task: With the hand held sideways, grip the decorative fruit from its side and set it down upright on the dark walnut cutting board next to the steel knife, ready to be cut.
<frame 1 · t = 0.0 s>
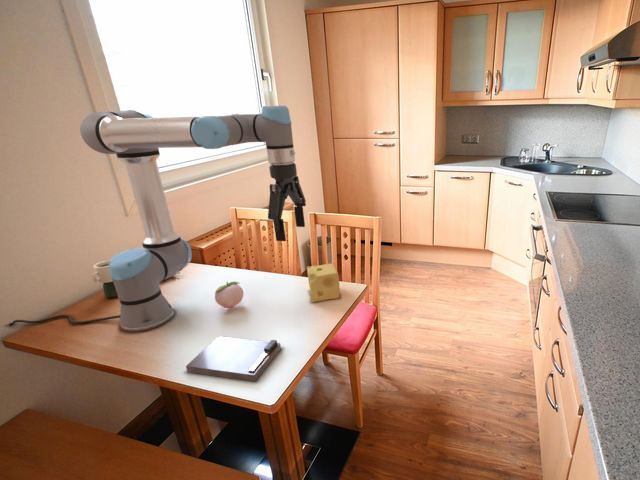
hand: (291, 233, 117), 28 cm above the table, tool pointing down, fingers open, 13 cm apart
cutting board: (236, 360, 104), on the table
character mug: (115, 295, 144), on the table
packaged food: (164, 277, 158), on the table
cheese: (324, 294, 139), on the table
decorative fruit: (233, 308, 132), on the table
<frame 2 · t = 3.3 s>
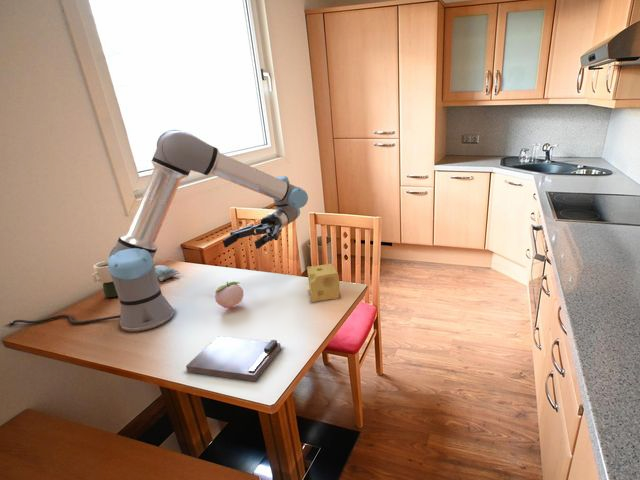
hand: (239, 244, 133), 20 cm above the table, tool horizontal, fingers open, 13 cm apart
nothing on the table moved.
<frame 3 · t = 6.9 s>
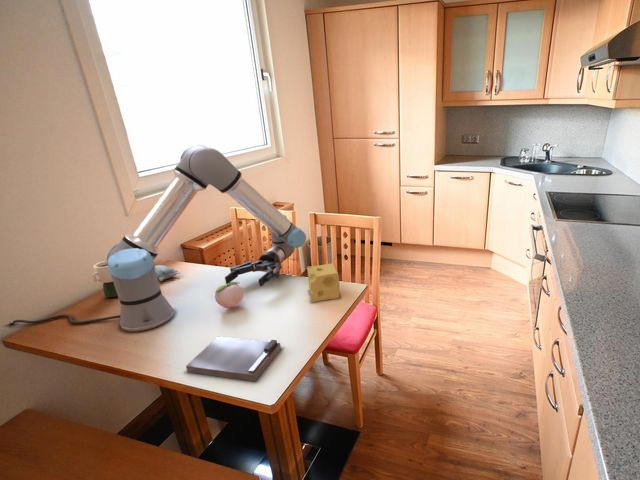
hand: (242, 281, 137), 6 cm above the table, tool horizontal, fingers open, 13 cm apart
nothing on the table moved.
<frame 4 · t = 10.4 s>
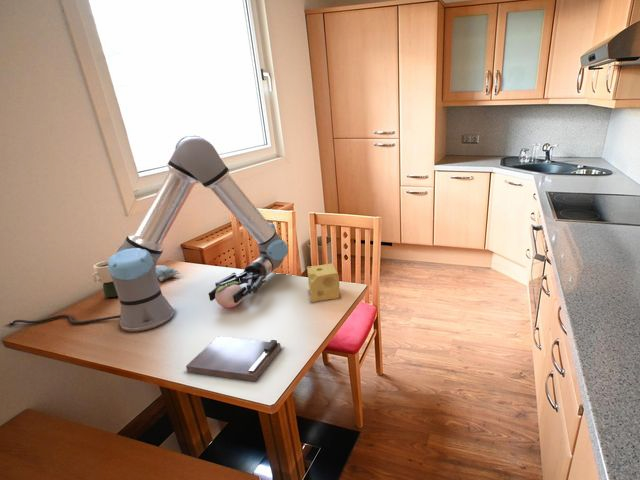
hand: (222, 298, 126), 6 cm above the table, tool horizontal, fingers closed on decorative fruit, 8 cm apart
decorative fruit: (233, 308, 132), on the table, touching gripper
everything else where it was.
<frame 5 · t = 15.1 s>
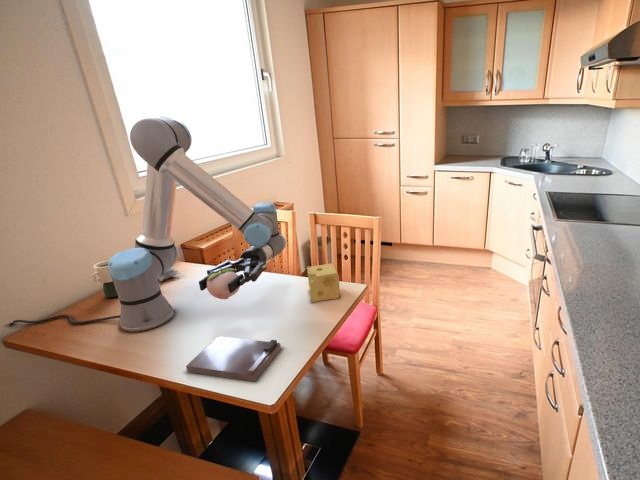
hand: (215, 287, 106), 18 cm above the table, tool horizontal, fingers closed on decorative fruit, 8 cm apart
decorative fruit: (228, 299, 112), point 12 cm above the table, touching gripper
everything else where it was.
when the fingers open (8 cm above the table, at t = 20.2 s): decorative fruit stays where it is, resting on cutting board.
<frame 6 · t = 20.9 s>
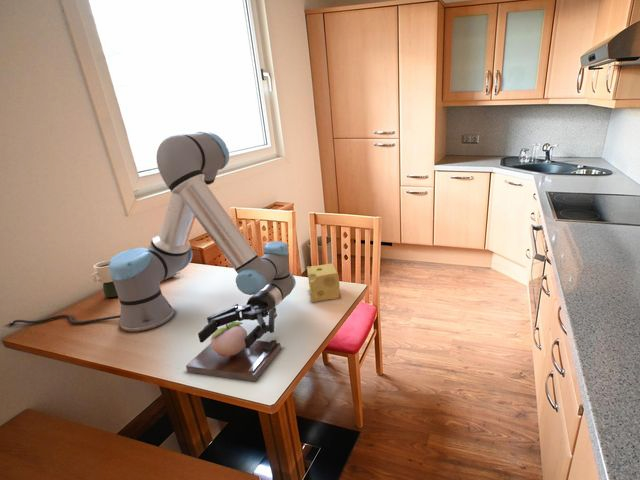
hand: (222, 340, 98), 9 cm above the table, tool horizontal, fingers open, 13 cm apart
decorative fruit: (234, 355, 103), point 2 cm above the table, touching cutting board
everything else where it was.
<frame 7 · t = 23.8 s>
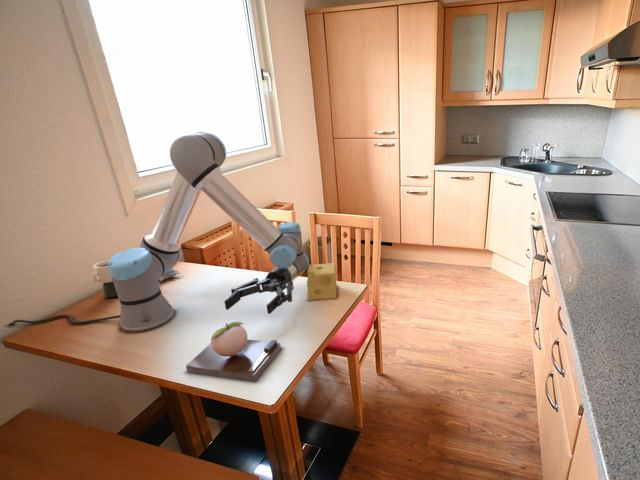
hand: (246, 307, 109), 11 cm above the table, tool horizontal, fingers open, 13 cm apart
cheese: (323, 293, 140), on the table
everything else where it was.
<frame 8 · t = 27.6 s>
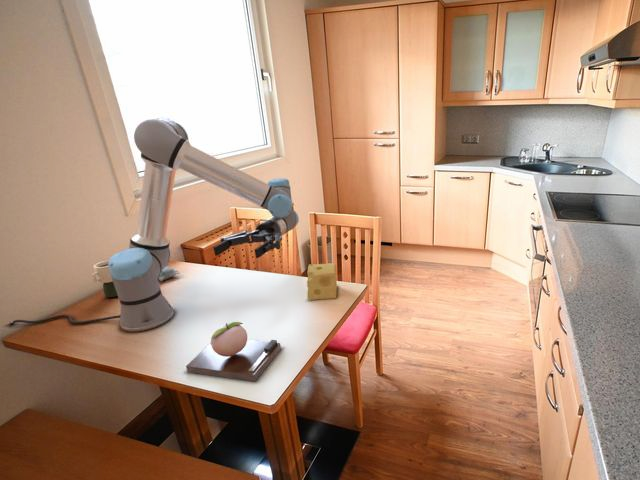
hand: (235, 252, 111), 25 cm above the table, tool horizontal, fingers open, 13 cm apart
nothing on the table moved.
at the end: decorative fruit inside the target area on the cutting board (0.5 cm from its centre), point 1.8 cm above the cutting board's base; decorative fruit tilted 0°; the gripper is holding nothing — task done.
